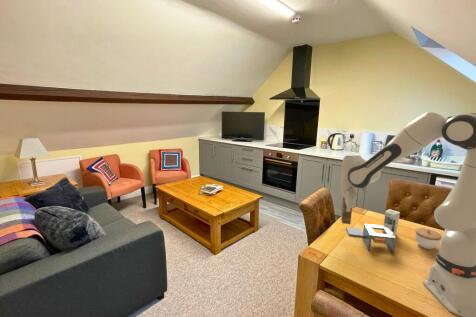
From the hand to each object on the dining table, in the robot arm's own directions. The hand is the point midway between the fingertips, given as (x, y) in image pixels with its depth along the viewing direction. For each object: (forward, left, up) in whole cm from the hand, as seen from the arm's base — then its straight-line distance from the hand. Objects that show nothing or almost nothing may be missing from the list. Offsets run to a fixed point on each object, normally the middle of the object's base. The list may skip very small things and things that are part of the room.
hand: (347, 209), depth 127 cm
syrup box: (+14, -27, -20) cm, 36 cm away
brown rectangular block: (0, 0, -8) cm, 8 cm away
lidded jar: (+6, -42, -20) cm, 47 cm away
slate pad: (+11, -8, -19) cm, 24 cm away
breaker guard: (0, -17, -19) cm, 26 cm away
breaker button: (0, -17, -16) cm, 24 cm away
